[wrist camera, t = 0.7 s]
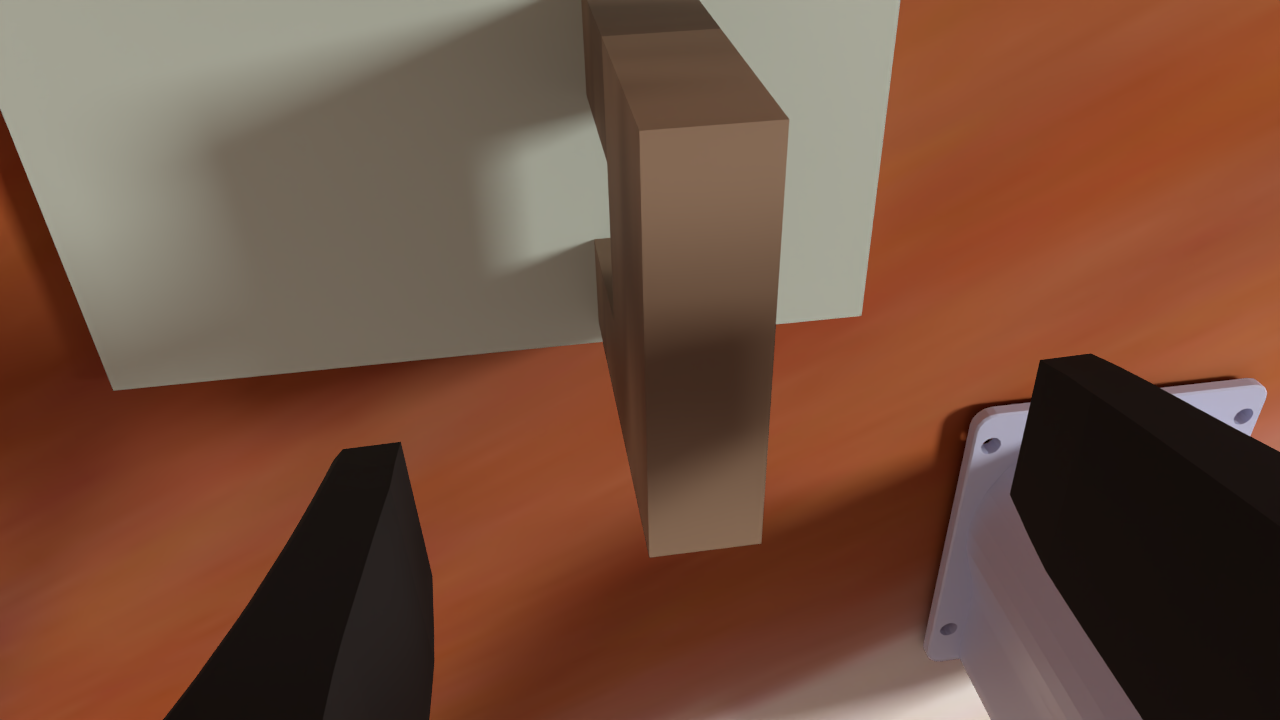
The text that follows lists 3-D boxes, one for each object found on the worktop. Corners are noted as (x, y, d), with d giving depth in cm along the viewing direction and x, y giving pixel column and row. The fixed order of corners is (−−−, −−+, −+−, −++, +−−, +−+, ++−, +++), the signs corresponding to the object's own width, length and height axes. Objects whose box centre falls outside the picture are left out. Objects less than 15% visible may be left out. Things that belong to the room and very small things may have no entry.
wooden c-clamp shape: (681, 314, 21) (760, 543, 16) (598, 322, 21) (649, 557, 15) (681, -23, 17) (790, 119, 12) (580, -17, 17) (639, 131, 12)
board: (849, 297, 23) (861, 315, 22) (123, 368, 21) (113, 391, 20) (941, -503, 15) (963, -513, 14) (-211, -496, 13) (-247, -505, 12)
